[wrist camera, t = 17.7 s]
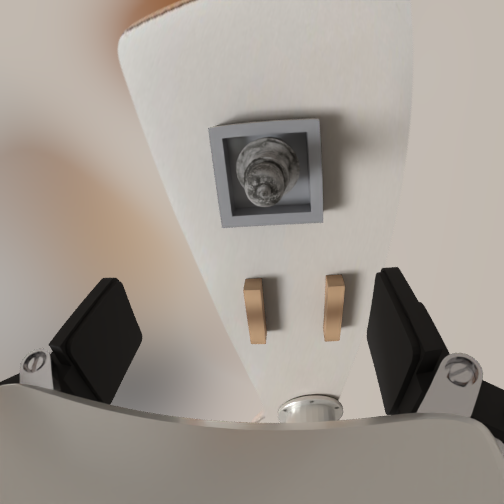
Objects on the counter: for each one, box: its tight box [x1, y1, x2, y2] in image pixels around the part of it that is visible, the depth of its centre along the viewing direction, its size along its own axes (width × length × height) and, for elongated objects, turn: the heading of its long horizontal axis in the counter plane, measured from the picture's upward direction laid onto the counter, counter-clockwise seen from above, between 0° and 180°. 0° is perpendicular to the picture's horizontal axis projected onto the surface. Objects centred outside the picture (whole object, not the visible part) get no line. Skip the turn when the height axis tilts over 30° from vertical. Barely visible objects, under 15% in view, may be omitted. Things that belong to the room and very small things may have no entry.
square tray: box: [208, 118, 323, 228], centre depth 29 cm, size 10×10×3 cm
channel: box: [243, 275, 345, 344], centre depth 37 cm, size 9×12×2 cm
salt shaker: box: [236, 137, 300, 207], centre depth 24 cm, size 6×6×12 cm
